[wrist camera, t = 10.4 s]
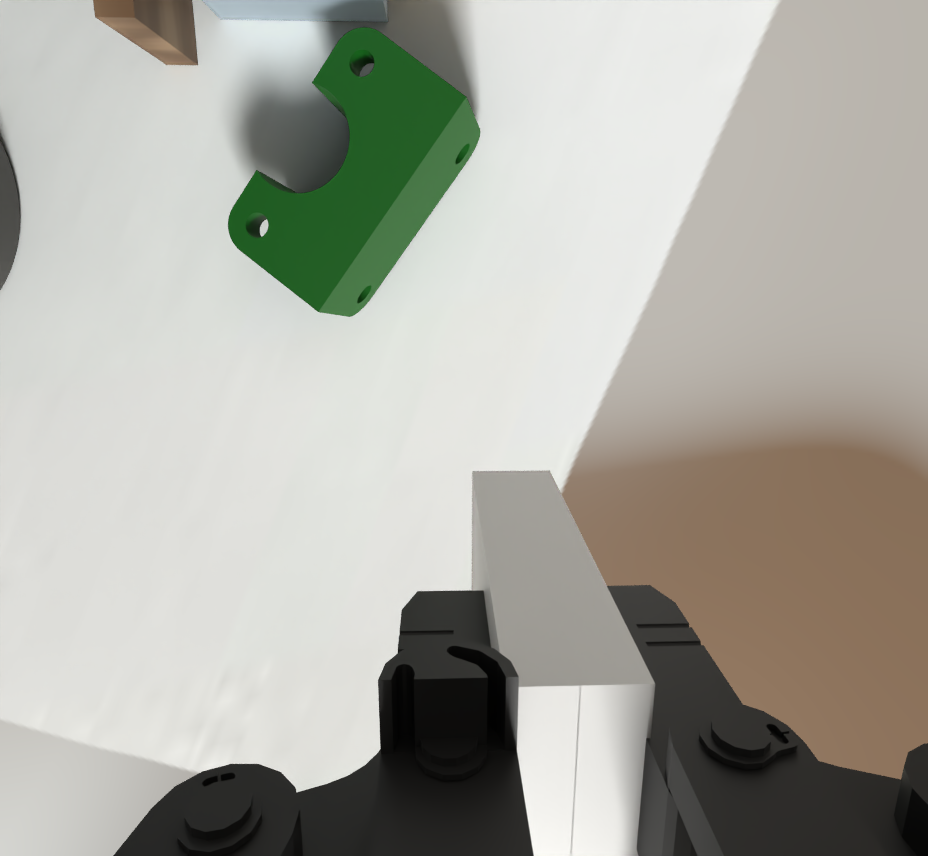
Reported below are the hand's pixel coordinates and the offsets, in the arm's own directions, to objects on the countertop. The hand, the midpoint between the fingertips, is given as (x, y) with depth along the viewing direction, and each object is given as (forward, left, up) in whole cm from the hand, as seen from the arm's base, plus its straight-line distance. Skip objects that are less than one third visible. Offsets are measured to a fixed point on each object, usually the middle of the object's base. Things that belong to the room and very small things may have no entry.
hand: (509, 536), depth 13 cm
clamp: (-5, +8, -25) cm, 27 cm away
